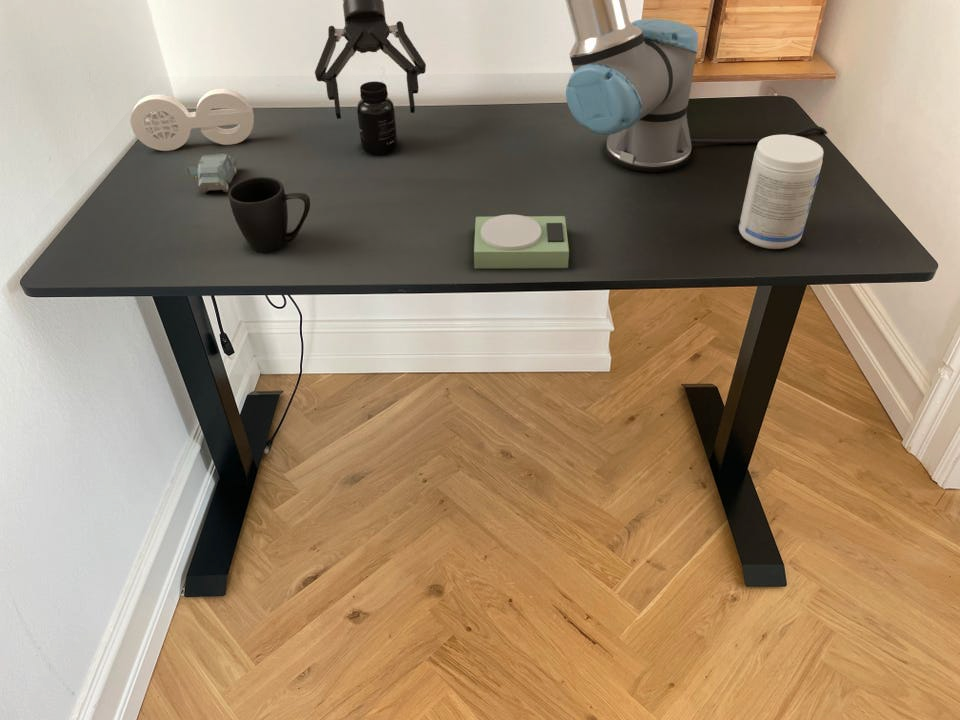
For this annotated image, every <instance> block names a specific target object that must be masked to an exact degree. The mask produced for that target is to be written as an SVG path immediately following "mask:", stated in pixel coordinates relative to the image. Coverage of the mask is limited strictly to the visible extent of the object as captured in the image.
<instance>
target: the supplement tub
mask: <svg viewBox="0 0 960 720" xmlns="http://www.w3.org/2000/svg"><path fill="white" fill-rule="evenodd" d="M762 138H763V139H761V138H760V139H761V140H760V141H759V142H758V143H756V144H757V145H756V148H755V151H754V154H753V159H752V163H751V167H750V172H749V176H748V181H747V186H746V190H745V195H744V199H743V200H744V201H743V204H742V209H741V214H740V219H739V224H738V230H739V234H740V235H741V237H742V238H743V239H744V240H745V241H746V242H749V243H751V244H753V245H754V246H757V247H760V248H764V249H769V250H782V249H788V248H791V247H793V246H795V245H796V244H798V243H799V242H800V241H801V239H802V237H803V234H804V231H805V227H806V223H807V220H808V216H809V213H810V209H811V206H812V202H813V199H814V195H815V191H816V188H817V184H818V180H819V177H820V174H821V169H822V165H823V158H824V148H823V147H822V146H821V145H820V144H819V143H817V142H816V141H815V140H812V139H809V138H807V137H804V136H799V135H796V136H794V135H781V134H773V135H769V136H766V137H762Z"/></svg>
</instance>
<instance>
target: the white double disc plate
mask: <svg viewBox="0 0 960 720" xmlns="http://www.w3.org/2000/svg"><path fill="white" fill-rule="evenodd" d="M250 104H251V103H250V102H249V100H248V99H247V98H246V97H245V96H243V95H242V94H240V93H239V92H238V91H236V90H233V89H229V88H215V89H212V90H209V91H208V92H205V94H203V95H202V96H201V98H200V99H199V100H198V103H197V105H196V109H195V111H189V110H188V109H187V108H186V107H185V105H183V104H182V103H181V102H180V101H179V100H178V99H175V98H173V97H171V96H169V95H165V94H149V95H146V96H144V97H143V98H141V99H139V100H138V101H137V103H136V104H135V105H134V107H133V109H132V112H131V114H130V126H131V130H132V132H133V134H134V136H135V137H136V138H137V139H138V140H139V141H140V142H141V144H143V145H145V146H147V147H148V148H150V149H153V150H156V151H161V152H169V151H174V150H177V149H179V148H181V147H182V146H184V145H185V144H186V143H187V141H188V140H189V138H190V136H191V133H192V129H200V133H201V134H202V135H203V136H204V137H205V138H207V139H208V140H209V141H211V142H213V143H216V144H219V145H224V146H226V145H227V146H228V145H229V146H230V145H236V144H239V143H242V142H243V141H245V140H246V139H247V138H248V137H249V136H250V134H251V133H252V131H253V129H254V124H255V123H254V121H255V114H254V109H253V107H252V106H251V105H250ZM218 106H229V107H231V108H220V109H213V108H215V107H218ZM146 120H147V121H146ZM232 125H236V126H235V127H232V128H222V127H221V126H232Z"/></svg>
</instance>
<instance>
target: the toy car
mask: <svg viewBox="0 0 960 720" xmlns="http://www.w3.org/2000/svg"><path fill="white" fill-rule="evenodd" d="M237 164H238V160H237V157H235V156H232V155H228V154H226V153H216V154H206V155H205V154H203V155H202V156H201V158H200V159H199V162H198V165H197V166H186V169H187V172H188V175H189V179H190V180H198V190H199V191H202V193H204V194H206V193H208V192H209V191H223V192H224V193H228V192H229V190H230V187H229V184H231V183H232V180H233V179H234V176H235V175H237V171H238V170H237Z"/></svg>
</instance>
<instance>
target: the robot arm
mask: <svg viewBox="0 0 960 720" xmlns="http://www.w3.org/2000/svg"><path fill="white" fill-rule="evenodd" d="M564 1H565V5H566V8H567V12H568V16H569V20H570V23H571V28H572V31H573V35H574V43H573V46H572V48H571V49H570V52H569V54H568V55H569V58H570V62H571V66H572V71H573V73H572V74H571V75H570V77H569V79H568V83H567V84H566V87H565V88H566V89H565V98H566V99H565V100H566V103H567V106H568V109H569V111H570V113H571V115H572V116H573V118H574V119H575V120H576V122H577V123H578V124H580V125H581V126H582V127H584V128H586V129H587V130H588V131H589V132H591V133H594V134H597V135H601V136H608V137H607V140H606V148H605V154H606V155H607V157H608V159H609V160H610V161H612V162H613V163H615V164H616V165H618V166H620V167H623V168H625V169H628V170H632V171H637V172H644V173H662V172H669V171H673V170H676V169H679V168H682V167H683V166H684V165H686V164H687V163H688V162H689V160H690V159H691V152H692V147H693V146H692V144H718V145H719V144H721V145H723V144H724V145H727V144H729V145H731V144H733V145H734V144H736V145H737V144H738V145H739V144H758V142H759V141H760V140H761V139H763V138H764V137H762V138H749V139H748V138H747V139H746V138H745V139H740V138H739V139H734V138H733V139H731V138H730V139H729V138H728V139H723V138H722V139H721V138H719V139H717V138H691V134H690V129H689V123H688V118H687V112H688V106H689V101H690V94H691V90H692V84H693V83H692V82H693V79H694V77H693V76H694V72H695V66H696V60H697V54H698V53H699V49H698V44H699V34H698V33H699V32H697V30H696V29H695V28H694V27H692V26H690V25H688V24H687V23H686V24H685V23H682V22H678V21H674V20H668V19H659V18H658V19H657V18H642V19H637V20H634V21H632V22H631V21H630V17H629V13H628V9H627V4H626V0H564ZM342 9H343V19H344V27H343V28H336V27H335V26H334V25H330V26H329V27H328V33H327V35H328V37H327V40H326V42H325V45H324V48H323V50H322V53H321V55H320V58H319V61H318V63H317V65H316V68H315V70H314V76H315V79H316V81H317V82H323V83H325V85H326V86H325V87H326V94H327V98H328V100H329V101H333V102H334V109H335V111H334V112H335V117H336V119H337V120H340V119H342V113H341V106H340V105H341V104H340V97H339V88H338V81H337V78H338V76H339V75H340V74H341V72H342V70H343V69H344V68H345V66H347V63H348V62H349V61H350V60H351V58H352V57H354V55H355V54H356V52H359V53H360V54H365V53H369V52H370V53H377V52H378V51H380V50H381V51H382V52H383V53H384V54H385V55H387V56H388V57H389V58H390V59H391V60H392V61H394V63H395V64H397V65H398V67H400V68H401V69H402V70H403V71H404V72H405V73H406V86H407V94H408V95H407V96H408V102H409V111H410V114H414V113H415V109H416V108H415V107H416V105H415V98H414V94H418V93H419V90H420V89H419V79H418V76H419V75H421V74H423V75H424V74H425V73H426V71H427V70H426V69H427V64H426V62H425V61H424V59H423V58H422V56H421V55H420V53H419V52H418V50H417V48H416V47H415V45H414V44H413V42H412V41H411V39H410V38H409V36H408V35H407V32H406V31H405V28H404V27H405V26H404V23H403V21H400V20H399V21H397V22H396V24H392V25H388V23H387V20H386V12H385V3H384V0H342ZM390 34H392V35H393V37H394V38H395V39H396V38H397V39H398V41H399V43H400V45H401V46H402V48H403V49H404V51H405V53H406V54H407V56H408V57H409V58H410V60H409V59H408V58H407V57H406V56H404V55H405V54H403V53H401V51H399V50H398V48H396V47H395V46H394V45H393V44H392V43H391V40H389V39H388V38H389V36H390ZM342 37H344V39H345V40H346V41H347V42H346V43H345V45H344V48H342V50H341V51H340V52H339V55H338V56H337V57H336V58H335V60H334V61H333V63H331V65H330V67H329V64H330V62H331V60H332V57H333V54H334V52H335V49H336V46H337V43H339V42H340V41H341V39H342ZM411 61H412V62H411ZM328 67H329V68H328ZM813 131H817V132H820V133H821V134H822V135H827V134H828V132H827V130H826V129H825V128H823V126H819V125H818V126H817V125H816V126H814V125H813V126H810V127H809V126H808V127H805V128H803V129H799V130H796V131H790V132H785V133H781V134H780V135H794V136H799V135H803V134H806V133H809V132H813Z"/></svg>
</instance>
